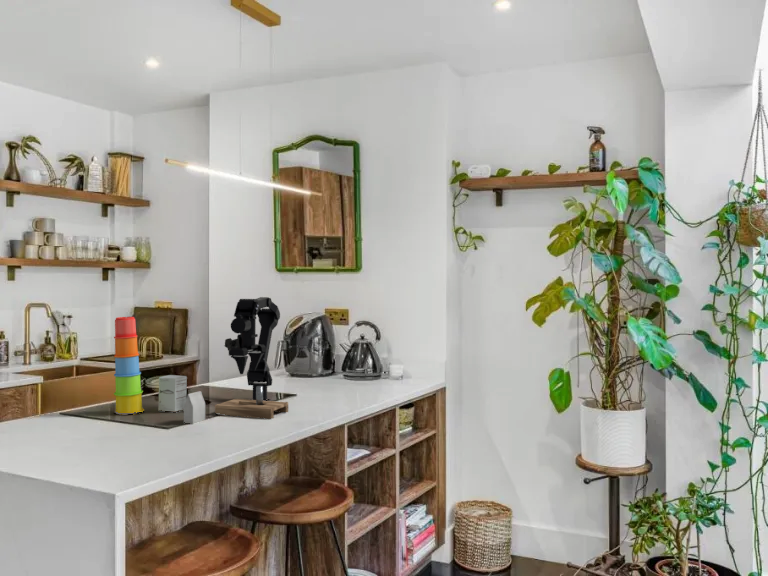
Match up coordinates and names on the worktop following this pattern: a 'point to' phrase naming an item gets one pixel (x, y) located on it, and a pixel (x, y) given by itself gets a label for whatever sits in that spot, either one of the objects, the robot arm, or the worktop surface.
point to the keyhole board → (251, 408)
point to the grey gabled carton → (194, 408)
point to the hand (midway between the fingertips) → (247, 372)
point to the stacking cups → (127, 367)
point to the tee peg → (259, 395)
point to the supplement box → (172, 392)
